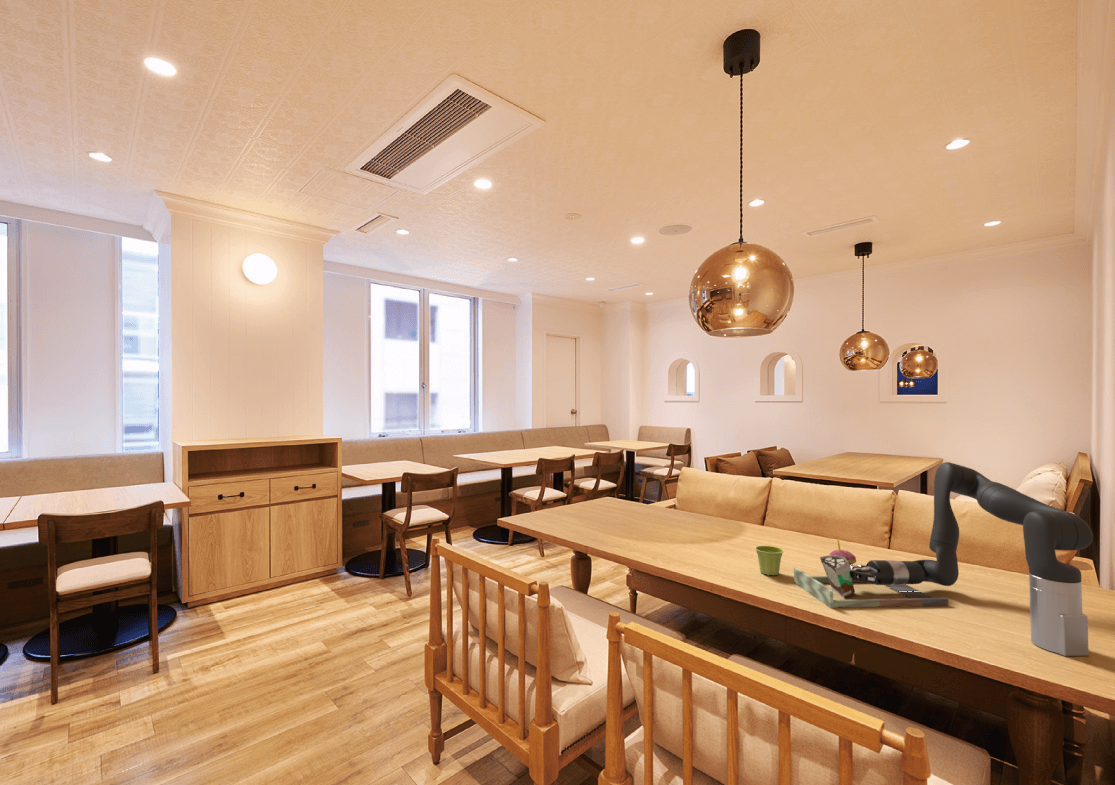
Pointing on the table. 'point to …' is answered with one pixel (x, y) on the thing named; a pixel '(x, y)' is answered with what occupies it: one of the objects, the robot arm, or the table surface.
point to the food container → (838, 574)
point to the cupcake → (844, 554)
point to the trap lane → (826, 596)
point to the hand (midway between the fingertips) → (834, 572)
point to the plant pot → (769, 559)
